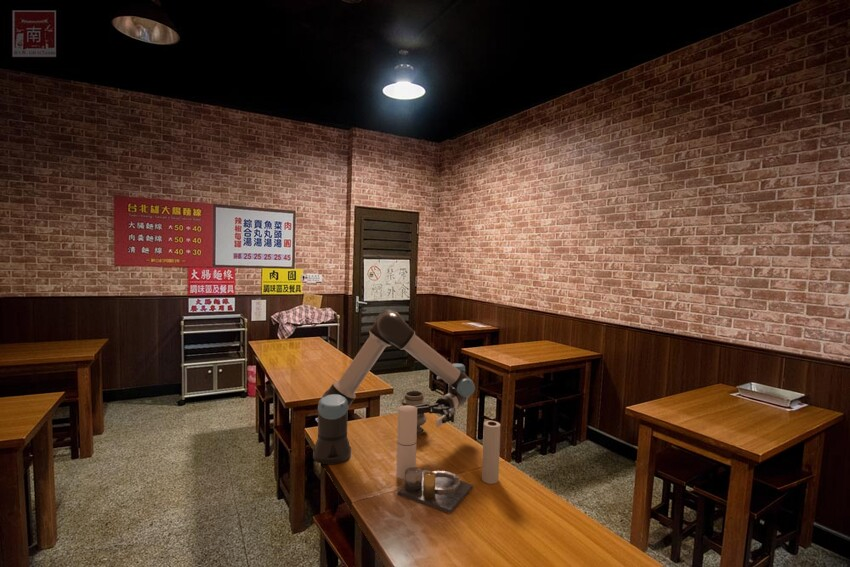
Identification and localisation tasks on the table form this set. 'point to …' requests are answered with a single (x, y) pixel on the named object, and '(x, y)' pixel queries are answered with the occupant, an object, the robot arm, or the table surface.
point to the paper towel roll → (491, 451)
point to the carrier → (434, 488)
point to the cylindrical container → (406, 439)
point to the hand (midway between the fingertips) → (421, 420)
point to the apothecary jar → (412, 400)
